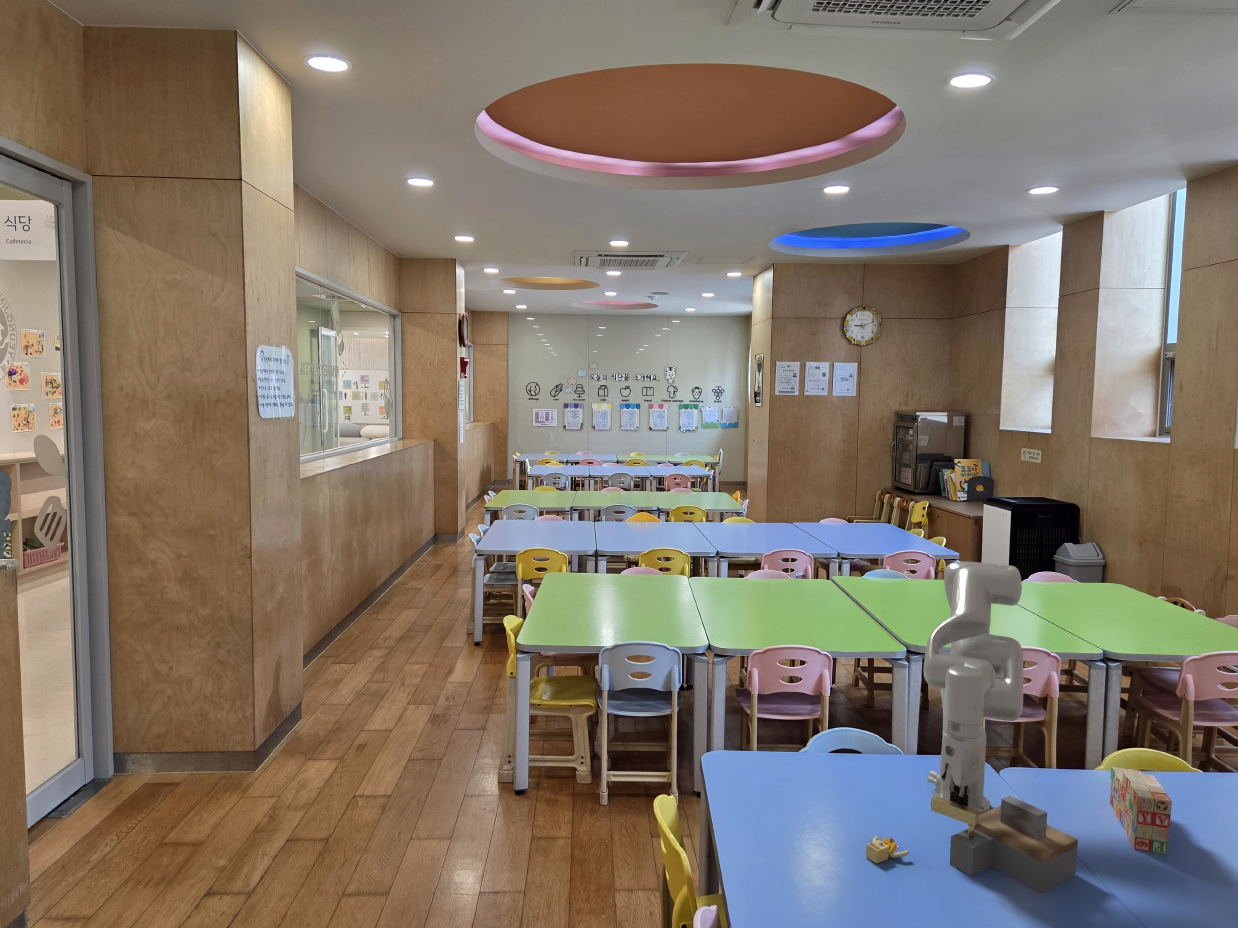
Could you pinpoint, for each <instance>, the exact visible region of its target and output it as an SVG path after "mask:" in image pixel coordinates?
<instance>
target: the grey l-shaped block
mask: <svg viewBox="0 0 1238 928" xmlns="http://www.w3.org/2000/svg"><path fill="white" fill-rule="evenodd" d="M949 846H950V848H949V849H950V850H949V852H950V853H949V865H951V866H952V867H954V868H956V869H957V870H959V871H961V872H963V873H964V874H966V875H968V876H970V877H973V876H976V875H977V874H980V873H982V872H984V871H986V870H988V869H989V868H991V867H993V868H995V869H997V870H998V871H1000V872H1003V873H1004V874H1005V875H1008V876H1009V877H1012V878H1013V879H1014V880H1017V881H1019V882H1020V883H1022V884H1024V885H1025V886H1028V887H1030V888H1032V889H1033V890H1036V891H1037V892H1039V893H1041V894H1044V893H1046V892H1047V891H1050V890H1052V889H1053V888H1055V887H1057V886H1058V885H1060V884H1062V883H1064V882H1065V880H1066V881H1068V880H1069V879H1071V878H1073V877H1074V876H1076V875H1075V874H1076V872H1077V861H1078V859H1077V857H1078V846H1077V847H1075V848H1073V849H1072V850H1070V851H1068V852H1066V853H1064V854H1062V855H1060V856H1058V857H1056V858H1054V859H1053V860H1051V861H1049V862H1047V863H1045V864H1043V863H1042V862H1040V861H1038V860H1036V859H1034V858H1032V857H1030V856H1028V855H1026V854H1024V853H1022V852H1020V851H1018V850H1016V849H1014V848H1012V847H1010V846H1008V845H1006V844H1004V843H1002V842H1000V841H998V840H996V839H994V838H992V837H990V836H988V835H986V834H984V833H982V832H980V831H978V830H976V829H975V830H974V838H969V837H968V828H966V829H964V830H961V831H960V832H957V833H955V834H953V835H951V836H950V845H949ZM1073 875H1074V876H1073ZM1072 876H1073V877H1072ZM1063 881H1064V882H1063ZM1056 885H1057V886H1056Z"/></svg>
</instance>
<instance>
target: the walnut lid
mask: <svg viewBox="0 0 1238 928" xmlns="http://www.w3.org/2000/svg"><path fill="white" fill-rule="evenodd" d="M1047 822H1048V812H1047V811H1045V810H1043V809H1042V808H1041V809H1040V808H1038V807H1036V806H1034V805H1031V804H1029V803H1027V802H1025V801H1023V800H1020V799H1019V798H1016V797H1014V796H1011V795H1007V796H1006V797H1003V798H1001V802H1000V805H998V806H997V807H995V808H992V809H990V810H989V811H987V812H985V813H983V814H981V815H979V821H978V823H977V825H976V826H975V829H976V830H978V831H980V832H982V833H984V834H986V835H988V836H990V837H992V838H994V839H996V840H998V841H1000V842H1002V843H1004V844H1006V845H1008V846H1010V847H1012V848H1014V849H1016V850H1018V851H1020V852H1022V853H1024V854H1026V855H1028V856H1030V857H1032V858H1034V859H1036V860H1038V861H1040V862H1042V863H1043V864H1045V863H1047V862H1049V861H1051V860H1053V859H1054V858H1056V857H1058V856H1060V855H1062V854H1064V853H1066V852H1068V851H1070V850H1072V849H1073V848H1075V847H1077V848H1078V841H1079V840H1078V838H1076V837H1074V836H1071V835H1070V834H1068V833H1065V832H1063V831H1061V830H1059V829H1056V828H1054V827H1052V826H1050V825H1048V824H1047Z"/></svg>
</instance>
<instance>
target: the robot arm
mask: <svg viewBox="0 0 1238 928" xmlns="http://www.w3.org/2000/svg"><path fill="white" fill-rule="evenodd" d="M943 582H944V589H945V590H944V591H945V595H946V599H947V601H948V605H949V607H950V617H948V618H946V619H945V620H944V621H942V622H941V623H939V624H938V625H937V626H936V627H935V628H934V629H933V631H932V632H931V633H930V635H929V637H928V639H927V641H926V646H925V653H924V654H925V655H924V660H923V661H924V662H923V677H924V680H925V682H926V683H927V684H928V685H929V686H931V687H933V688H938V689H940V694H941V697H940V698H941V705H942V739H941V740H942V741H941V743H942V744H941V752H940V762H939V773H938V772H936V771H934V770H930V771H929V773H928V777H927V782H929V783H931V784H933V785H935V789H934V790H932V791H933V792H932V798H933V797H934V796H938V797H941V798H944V799H947V800H949V801H952V802H955V803H958V804H961V805H964V806H967V807H970V808H973V809H976V810H978V811H979V815H981V814H983V813H985V812H987V811H990V810H991V802H990V800H989V799H988V798H987V797H986V796H985V795H984V789H985V788H984V787H985V771H986V770H985V769H986V751H987V750H986V749H987V734H986V730H985V727H984V726H983V725H984V718H987V719H993V720H1000V721H1006V722H1007V721H1008V722H1015V721H1016V720H1017V721H1018V720H1019V719H1020V717H1021V716H1022V713H1023V706H1024V705H1023V704H1024V652H1023V649H1022V645H1021V644H1020V642H1019V641H1018V640H1016V639H1015V638H1013V637H1009V636H1003V635H996V634H990V627H991V613H992V604H994V605H1000V606H1001V605H1002V606H1008V607H1009V606H1011V607H1012V606H1016V605H1018V603H1019V602H1020V600H1021V597H1022V589H1023V587H1022V586H1023V585H1022V577H1021V573H1020V570H1019V569H1018V568H1017V567H1016V566H1014V565H1008V564H1007V565H1006V564H1000V563H999V564H997V563H988V562H987V563H985V562H977V561H955V562H950V563H949V564H948V565H946V567H945V570H944V574H943ZM949 644H950V653H949V654H948V653H941V652H940V651H941V649H942V648H944V647H945V646H947V645H949ZM939 652H940V653H939Z"/></svg>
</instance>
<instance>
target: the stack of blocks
mask: <svg viewBox="0 0 1238 928" xmlns="http://www.w3.org/2000/svg"><path fill="white" fill-rule="evenodd" d="M1110 771H1111V772H1110V795H1109V796H1110V797H1109V800H1110V801H1109V804H1110V806H1111V805H1112V806H1111V807H1113V808H1112V810H1113V812H1114V814H1115V816H1116V818H1117V820H1118V821H1119V823H1120V825H1121V827H1122V829H1123V830H1124V833H1125V834H1126V836H1127V838H1128V841H1129V843H1130V844H1131V846H1132V848H1133V850H1134V849H1135V850H1136V851H1141V852H1145V853H1146V852H1147V853H1152V854H1158V855H1165V856H1168V851H1169V843H1170V842H1169V835H1170V827H1171V816H1172V814H1171V813H1172V808H1173V807H1172V805H1173V801H1172V799H1171V798H1170V797H1169V795H1168V793H1167V792H1166V789H1164V787H1163V786H1162V785H1161V783H1160V782H1159V781H1158V780H1157V778H1156V777H1155V776H1154V774H1148V773H1142V771H1141V770H1136V769H1131V768H1130V769H1129V768H1122V767H1116V766H1111V770H1110Z"/></svg>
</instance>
